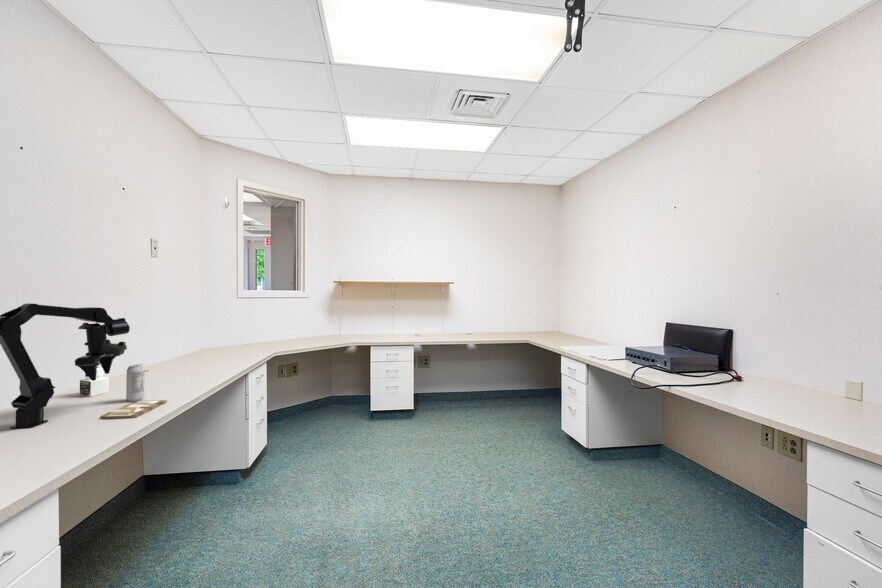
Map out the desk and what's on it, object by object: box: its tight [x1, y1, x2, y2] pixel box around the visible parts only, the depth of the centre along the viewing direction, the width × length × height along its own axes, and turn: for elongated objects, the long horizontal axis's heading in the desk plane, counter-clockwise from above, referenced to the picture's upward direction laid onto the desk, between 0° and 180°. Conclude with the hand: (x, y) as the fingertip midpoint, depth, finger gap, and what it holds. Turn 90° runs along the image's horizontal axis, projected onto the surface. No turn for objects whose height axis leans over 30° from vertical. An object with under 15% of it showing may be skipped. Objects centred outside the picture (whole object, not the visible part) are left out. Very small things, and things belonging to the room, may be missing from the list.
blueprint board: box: [99, 399, 168, 420], centre depth 143 cm, size 20×12×2 cm, turn 9°
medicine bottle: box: [79, 366, 110, 398], centre depth 165 cm, size 7×7×12 cm
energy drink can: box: [125, 363, 146, 403], centre depth 156 cm, size 6×6×15 cm
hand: (100, 376), depth 146 cm, fingers open, 9 cm apart
